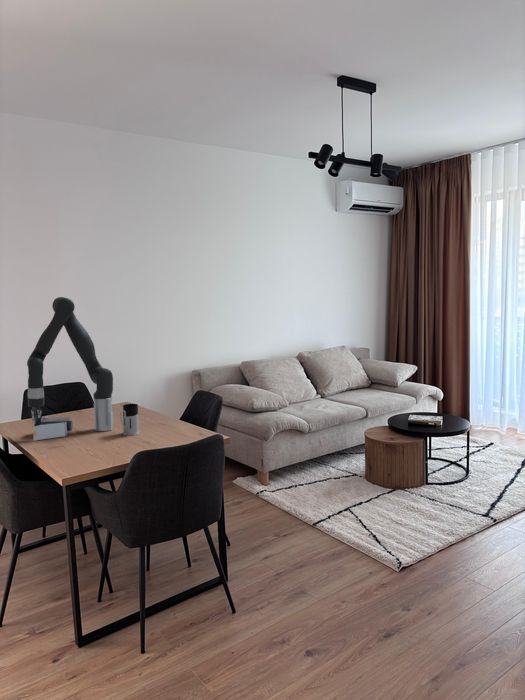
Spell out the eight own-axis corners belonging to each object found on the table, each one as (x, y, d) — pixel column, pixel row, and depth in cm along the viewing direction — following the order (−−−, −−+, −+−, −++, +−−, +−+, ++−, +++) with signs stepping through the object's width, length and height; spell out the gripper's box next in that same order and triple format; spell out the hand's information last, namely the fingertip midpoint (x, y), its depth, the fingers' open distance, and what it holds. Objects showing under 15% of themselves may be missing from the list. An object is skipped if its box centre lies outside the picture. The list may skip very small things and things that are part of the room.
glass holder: (142, 432, 288) (142, 403, 286) (129, 438, 274) (128, 409, 273) (127, 431, 290) (127, 403, 288) (113, 437, 276) (112, 408, 275)
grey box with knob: (73, 431, 289) (73, 415, 288) (68, 436, 279) (68, 419, 278) (41, 432, 287) (40, 416, 287) (35, 437, 277) (34, 420, 277)
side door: (66, 435, 279) (66, 422, 278) (67, 436, 277) (67, 422, 277) (33, 440, 270) (32, 426, 270) (34, 440, 269) (33, 426, 268)
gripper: (25, 395, 275) (26, 429, 276) (30, 399, 264) (31, 434, 265) (40, 394, 279) (41, 427, 281) (47, 398, 268) (47, 432, 270)
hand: (36, 430), depth 273 cm, fingers closed
